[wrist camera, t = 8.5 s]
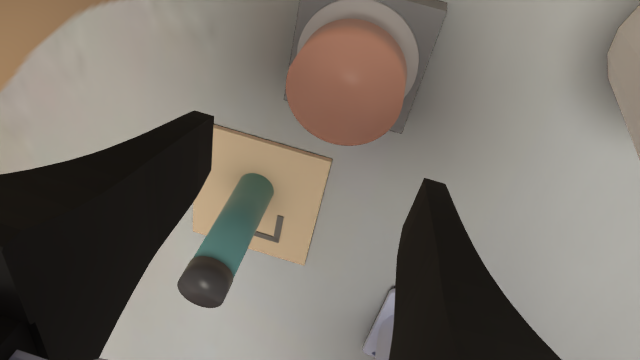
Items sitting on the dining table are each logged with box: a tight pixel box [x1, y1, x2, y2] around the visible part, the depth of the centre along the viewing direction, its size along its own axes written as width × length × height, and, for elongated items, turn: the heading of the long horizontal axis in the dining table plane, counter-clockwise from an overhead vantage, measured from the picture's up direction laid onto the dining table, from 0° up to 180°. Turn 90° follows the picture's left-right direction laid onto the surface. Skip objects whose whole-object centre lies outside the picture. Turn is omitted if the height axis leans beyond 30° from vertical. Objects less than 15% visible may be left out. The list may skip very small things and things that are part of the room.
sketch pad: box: [193, 125, 332, 265], centre depth 28 cm, size 8×9×1 cm
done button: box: [286, 18, 407, 146], centre depth 18 cm, size 5×5×2 cm
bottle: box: [178, 173, 274, 308], centre depth 24 cm, size 2×2×8 cm
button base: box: [284, 0, 447, 134], centre depth 20 cm, size 6×6×2 cm
